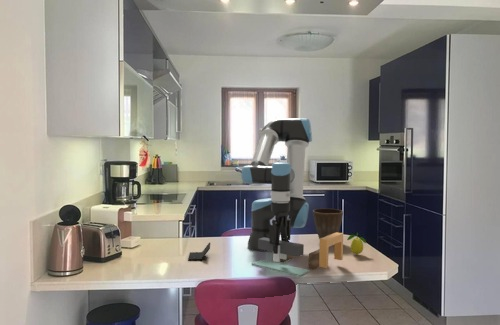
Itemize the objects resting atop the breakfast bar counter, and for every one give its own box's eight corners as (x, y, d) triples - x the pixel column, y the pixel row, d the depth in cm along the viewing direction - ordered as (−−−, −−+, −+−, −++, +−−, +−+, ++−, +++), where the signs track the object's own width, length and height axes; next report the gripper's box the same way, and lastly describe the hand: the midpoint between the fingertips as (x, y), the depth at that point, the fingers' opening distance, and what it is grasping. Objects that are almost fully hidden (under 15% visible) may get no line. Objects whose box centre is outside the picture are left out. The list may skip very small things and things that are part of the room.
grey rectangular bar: (257, 248, 164) (258, 239, 163) (263, 246, 167) (263, 237, 167) (298, 256, 152) (298, 246, 152) (303, 254, 155) (303, 244, 155)
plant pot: (325, 247, 193) (326, 214, 192) (306, 240, 206) (306, 209, 205) (348, 243, 200) (349, 211, 200) (328, 237, 213) (329, 207, 213)
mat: (251, 264, 164) (251, 263, 164) (261, 260, 170) (261, 259, 170) (300, 276, 150) (300, 274, 150) (309, 271, 155) (309, 270, 155)
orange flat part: (319, 266, 154) (319, 238, 154) (335, 258, 166) (336, 232, 165) (326, 268, 152) (326, 239, 152) (342, 259, 164) (343, 233, 163)
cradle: (278, 261, 169) (278, 247, 168) (290, 256, 177) (291, 243, 176) (314, 269, 158) (314, 254, 158) (325, 263, 166) (326, 249, 166)
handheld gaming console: (185, 250, 179) (199, 233, 179) (197, 259, 181) (211, 242, 181) (187, 261, 168) (202, 243, 168) (200, 270, 170) (215, 252, 170)
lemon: (346, 254, 180) (347, 232, 179) (352, 252, 184) (352, 230, 184) (360, 257, 176) (361, 235, 175) (366, 254, 180) (366, 232, 180)
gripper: (276, 204, 149) (275, 266, 150) (299, 200, 163) (299, 257, 164) (260, 203, 154) (259, 263, 155) (284, 198, 168) (283, 254, 168)
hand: (279, 260), depth 159 cm, fingers closed on grey rectangular bar, 4 cm apart
